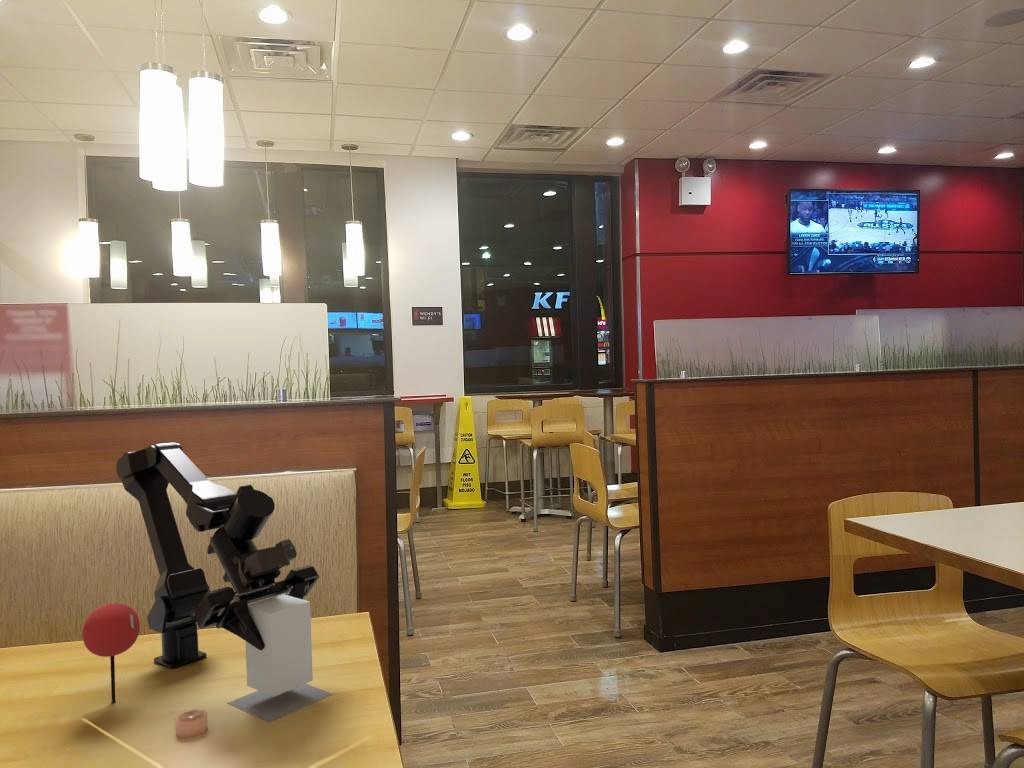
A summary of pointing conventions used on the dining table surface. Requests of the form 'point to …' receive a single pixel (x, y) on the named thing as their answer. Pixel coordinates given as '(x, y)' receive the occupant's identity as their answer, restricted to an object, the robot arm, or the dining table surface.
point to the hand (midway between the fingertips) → (284, 641)
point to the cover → (280, 645)
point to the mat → (279, 702)
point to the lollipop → (111, 633)
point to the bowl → (191, 723)
